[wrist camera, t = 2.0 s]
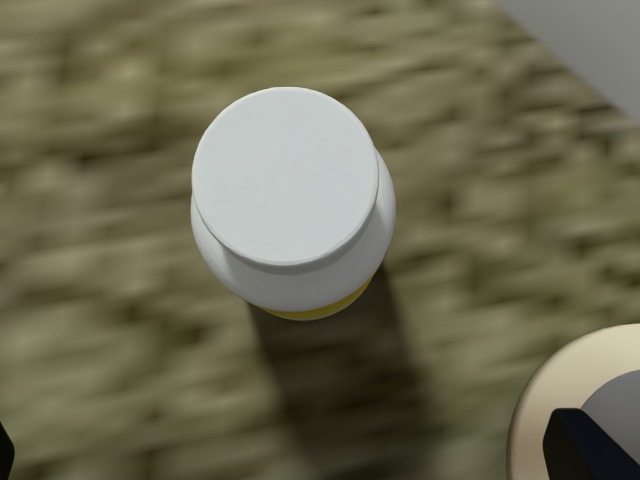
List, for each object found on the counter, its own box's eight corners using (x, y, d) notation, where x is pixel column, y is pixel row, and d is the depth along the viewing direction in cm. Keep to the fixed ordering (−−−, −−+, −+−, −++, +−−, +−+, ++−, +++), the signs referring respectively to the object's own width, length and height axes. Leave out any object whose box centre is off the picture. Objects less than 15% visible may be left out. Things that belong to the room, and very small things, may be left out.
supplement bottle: (396, 295, 21) (450, 258, 11) (257, 340, 21) (191, 342, 11) (350, 163, 22) (364, 24, 12) (218, 205, 22) (125, 98, 12)
